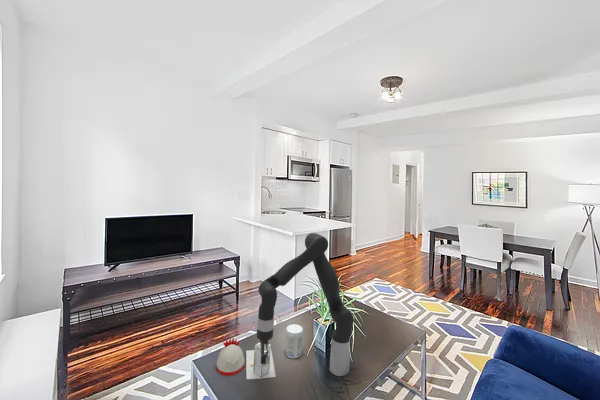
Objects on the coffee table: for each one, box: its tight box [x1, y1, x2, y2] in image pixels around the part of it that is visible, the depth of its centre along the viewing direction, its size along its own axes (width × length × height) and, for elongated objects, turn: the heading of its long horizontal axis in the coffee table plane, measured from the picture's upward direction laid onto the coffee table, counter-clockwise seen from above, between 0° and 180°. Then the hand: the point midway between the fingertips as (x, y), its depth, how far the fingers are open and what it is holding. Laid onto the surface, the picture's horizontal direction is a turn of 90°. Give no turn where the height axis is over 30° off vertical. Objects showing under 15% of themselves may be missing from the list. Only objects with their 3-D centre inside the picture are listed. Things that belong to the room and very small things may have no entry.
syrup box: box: [253, 342, 272, 377], centre depth 134 cm, size 6×6×14 cm
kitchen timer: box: [216, 337, 245, 377], centre depth 138 cm, size 14×14×15 cm
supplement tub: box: [284, 323, 304, 359], centre depth 151 cm, size 10×10×15 cm
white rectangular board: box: [245, 349, 277, 381], centre depth 141 cm, size 14×22×1 cm, turn 12°
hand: (263, 362), depth 124 cm, fingers closed
